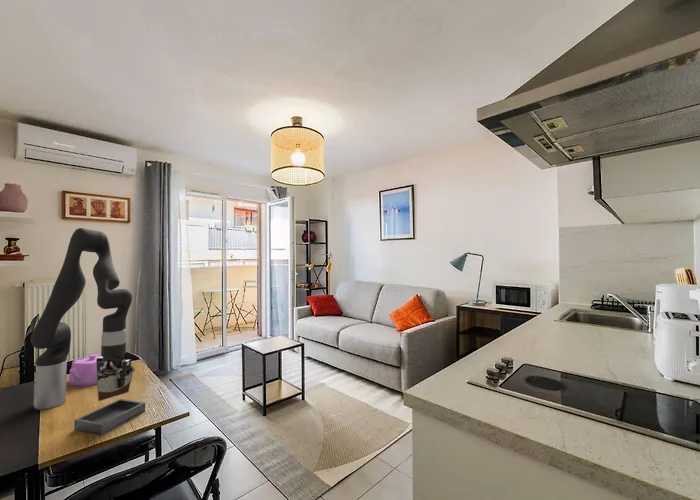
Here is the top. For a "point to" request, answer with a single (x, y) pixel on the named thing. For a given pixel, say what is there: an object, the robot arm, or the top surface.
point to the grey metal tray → (109, 416)
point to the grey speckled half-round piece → (111, 383)
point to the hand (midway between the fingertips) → (113, 386)
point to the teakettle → (84, 371)
